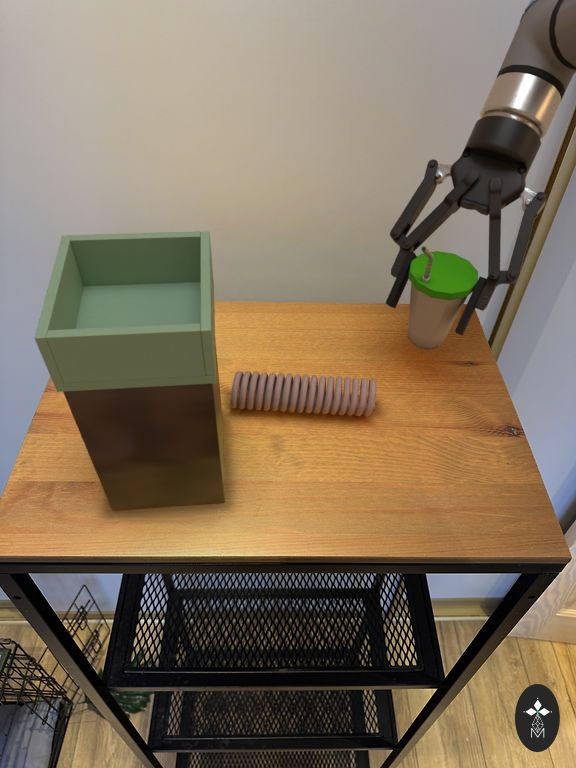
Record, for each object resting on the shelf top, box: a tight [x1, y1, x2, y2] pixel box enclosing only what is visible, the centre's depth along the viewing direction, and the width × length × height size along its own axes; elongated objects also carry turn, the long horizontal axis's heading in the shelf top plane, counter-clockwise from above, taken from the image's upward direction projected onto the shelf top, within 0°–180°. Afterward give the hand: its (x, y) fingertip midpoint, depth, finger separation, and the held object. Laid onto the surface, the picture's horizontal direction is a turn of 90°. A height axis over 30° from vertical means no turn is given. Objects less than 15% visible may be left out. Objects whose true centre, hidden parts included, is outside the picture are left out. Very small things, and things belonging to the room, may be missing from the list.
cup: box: [406, 245, 479, 351], centre depth 67 cm, size 8×8×15 cm
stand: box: [62, 338, 226, 511], centre depth 58 cm, size 12×12×20 cm
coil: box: [229, 370, 377, 418], centre depth 69 cm, size 5×5×18 cm
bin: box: [34, 230, 217, 393], centre depth 48 cm, size 13×13×6 cm
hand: (423, 319), depth 66 cm, fingers closed on cup, 8 cm apart
